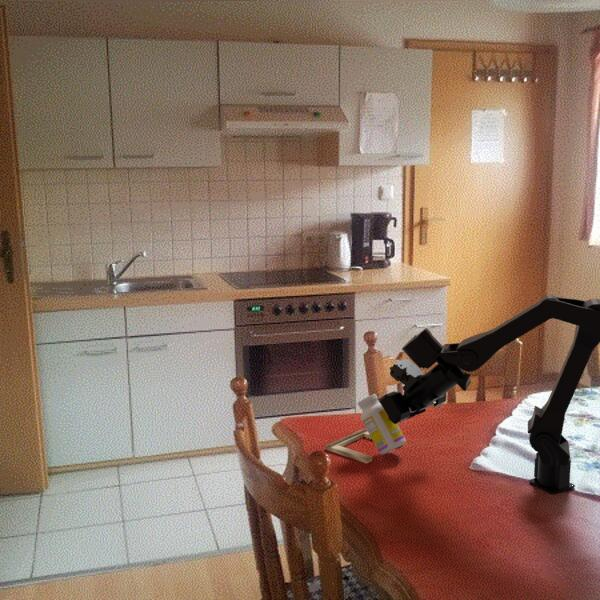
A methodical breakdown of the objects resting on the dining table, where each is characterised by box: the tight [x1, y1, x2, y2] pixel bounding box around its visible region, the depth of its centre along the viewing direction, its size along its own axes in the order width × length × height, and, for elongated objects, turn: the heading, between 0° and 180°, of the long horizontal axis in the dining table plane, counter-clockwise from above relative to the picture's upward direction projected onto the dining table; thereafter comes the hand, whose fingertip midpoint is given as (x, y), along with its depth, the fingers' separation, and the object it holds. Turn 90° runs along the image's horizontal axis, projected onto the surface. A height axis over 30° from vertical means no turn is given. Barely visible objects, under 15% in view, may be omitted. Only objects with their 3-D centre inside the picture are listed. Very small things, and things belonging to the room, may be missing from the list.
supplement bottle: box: [357, 393, 407, 456], centre depth 162 cm, size 7×7×13 cm
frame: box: [324, 428, 404, 464], centre depth 167 cm, size 12×14×1 cm
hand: (390, 418), depth 160 cm, fingers closed
